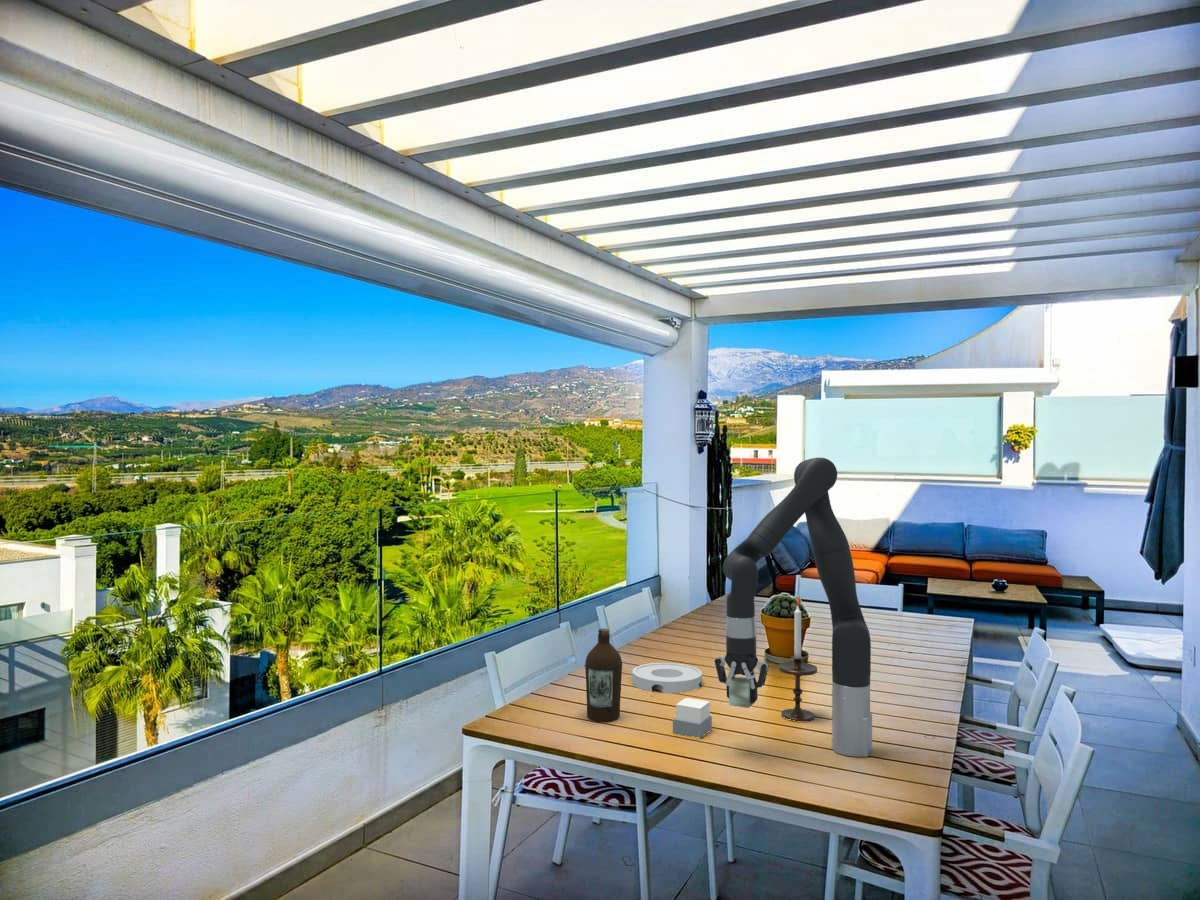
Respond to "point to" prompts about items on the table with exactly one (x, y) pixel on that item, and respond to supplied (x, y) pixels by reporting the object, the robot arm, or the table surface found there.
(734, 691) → the sage block
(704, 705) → the cream top block
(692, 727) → the slate base block
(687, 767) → the table surface
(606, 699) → the olive oil
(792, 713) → the candlestick
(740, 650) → the robot arm
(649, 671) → the ashtray
